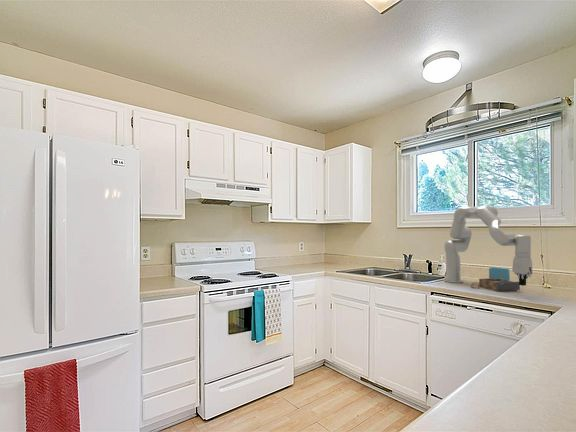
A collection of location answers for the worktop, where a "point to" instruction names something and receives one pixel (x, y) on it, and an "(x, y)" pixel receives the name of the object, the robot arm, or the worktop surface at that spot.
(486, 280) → the dock
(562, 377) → the worktop surface
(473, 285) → the stand
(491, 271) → the data package
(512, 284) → the tray
